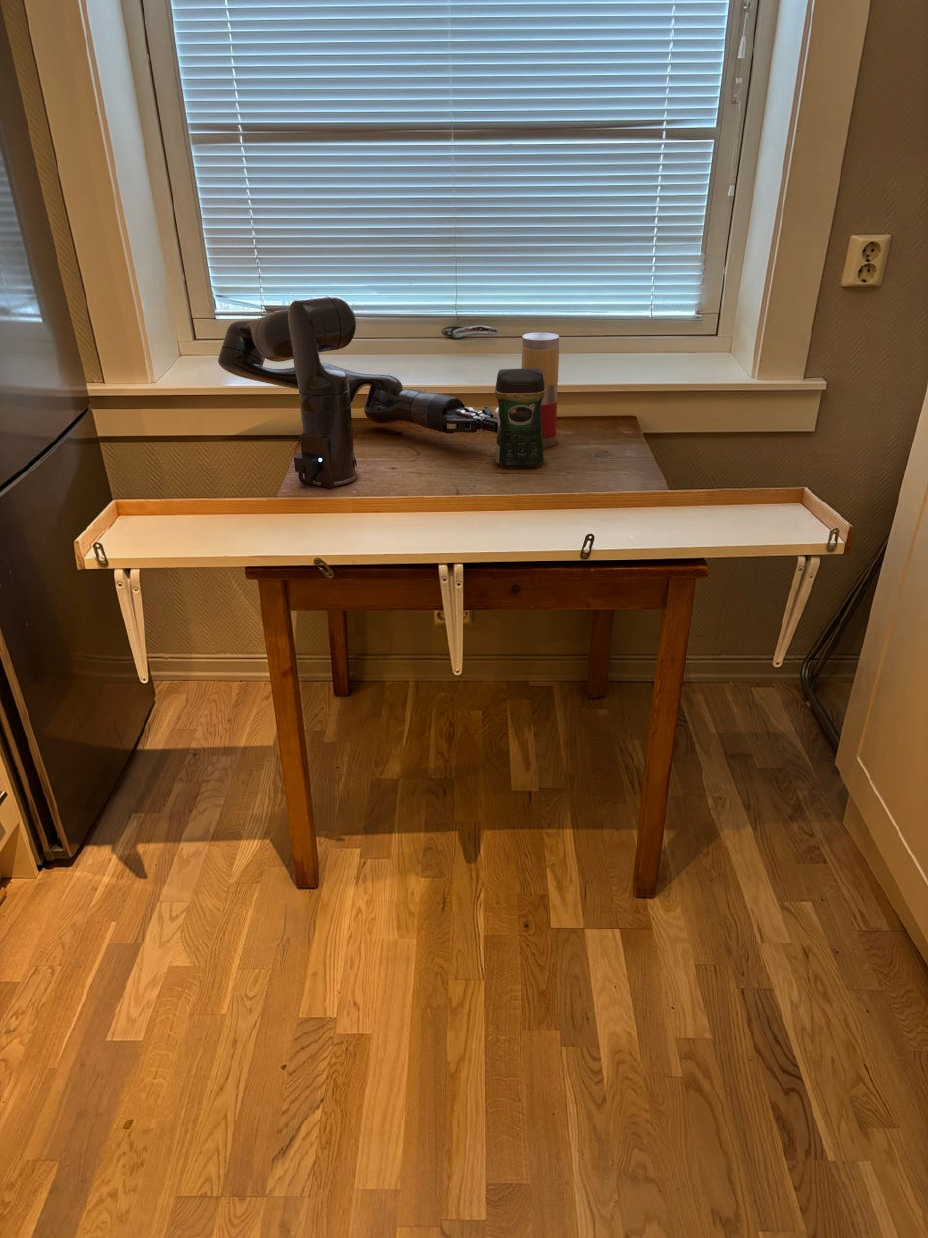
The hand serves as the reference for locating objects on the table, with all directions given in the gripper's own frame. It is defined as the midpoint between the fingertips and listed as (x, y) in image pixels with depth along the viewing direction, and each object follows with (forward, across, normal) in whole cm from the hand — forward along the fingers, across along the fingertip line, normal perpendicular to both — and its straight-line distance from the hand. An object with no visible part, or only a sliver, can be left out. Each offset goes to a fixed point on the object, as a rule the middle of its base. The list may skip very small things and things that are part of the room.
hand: (501, 426), depth 180 cm
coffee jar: (+4, 0, -7) cm, 8 cm away
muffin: (-12, -18, -7) cm, 22 cm away
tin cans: (-1, -13, -7) cm, 15 cm away
